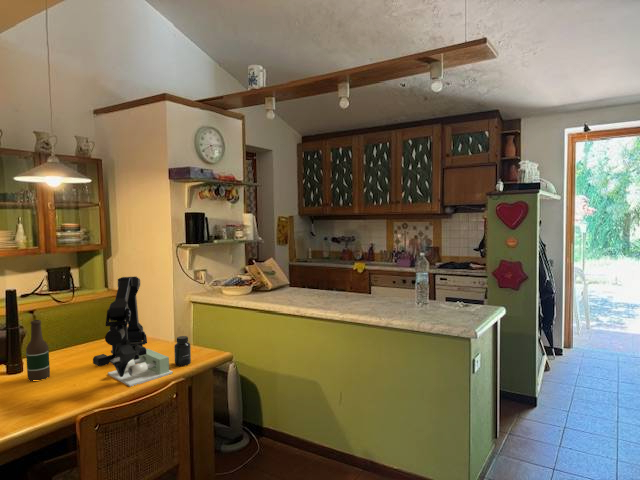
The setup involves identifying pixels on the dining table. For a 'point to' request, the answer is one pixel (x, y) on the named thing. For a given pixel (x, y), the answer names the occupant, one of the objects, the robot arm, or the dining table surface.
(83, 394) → the dining table surface
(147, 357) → the mount
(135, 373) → the knob
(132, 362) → the knob
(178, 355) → the supplement bottle
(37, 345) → the beer bottle
